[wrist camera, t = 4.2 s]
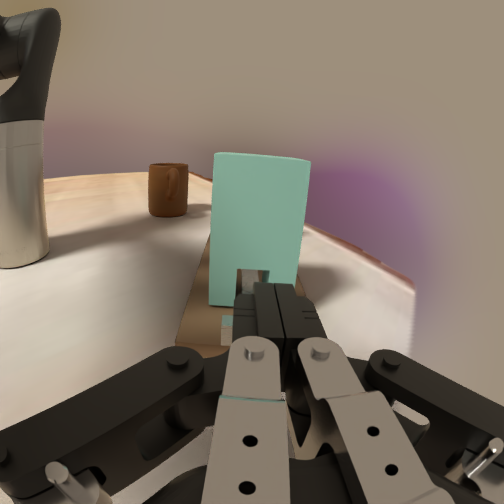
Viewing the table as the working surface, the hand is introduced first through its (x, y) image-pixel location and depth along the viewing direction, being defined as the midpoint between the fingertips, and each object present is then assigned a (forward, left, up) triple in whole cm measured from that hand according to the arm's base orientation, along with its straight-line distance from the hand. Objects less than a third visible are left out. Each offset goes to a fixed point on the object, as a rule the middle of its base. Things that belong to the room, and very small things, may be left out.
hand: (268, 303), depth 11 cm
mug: (-44, +9, -8) cm, 45 cm away
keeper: (-10, +6, -6) cm, 13 cm away
